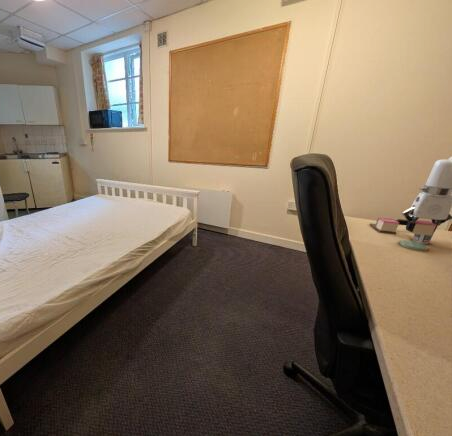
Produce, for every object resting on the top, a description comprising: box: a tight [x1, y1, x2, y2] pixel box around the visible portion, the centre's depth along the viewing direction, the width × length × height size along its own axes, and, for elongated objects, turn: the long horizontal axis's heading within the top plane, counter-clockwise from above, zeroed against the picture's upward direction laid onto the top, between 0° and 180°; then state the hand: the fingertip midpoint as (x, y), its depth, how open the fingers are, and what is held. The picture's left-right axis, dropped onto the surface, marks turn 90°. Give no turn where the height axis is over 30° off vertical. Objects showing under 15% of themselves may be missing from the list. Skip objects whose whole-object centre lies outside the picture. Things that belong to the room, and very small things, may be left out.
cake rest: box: [376, 217, 400, 233], centre depth 112 cm, size 6×4×5 cm
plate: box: [399, 239, 428, 252], centre depth 97 cm, size 8×8×1 cm
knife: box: [375, 217, 408, 227], centre depth 113 cm, size 14×2×5 cm, turn 70°
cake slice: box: [406, 219, 436, 237], centre depth 94 cm, size 6×4×5 cm
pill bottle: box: [412, 232, 435, 245], centre depth 100 cm, size 5×5×9 cm
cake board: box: [369, 223, 397, 235], centre depth 115 cm, size 6×11×1 cm, turn 160°
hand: (418, 231), depth 95 cm, fingers closed on cake slice, 6 cm apart
